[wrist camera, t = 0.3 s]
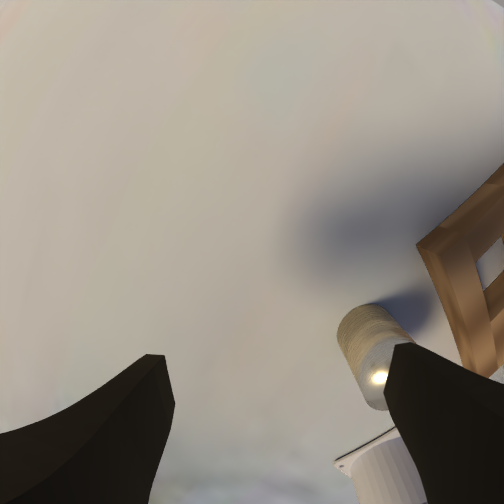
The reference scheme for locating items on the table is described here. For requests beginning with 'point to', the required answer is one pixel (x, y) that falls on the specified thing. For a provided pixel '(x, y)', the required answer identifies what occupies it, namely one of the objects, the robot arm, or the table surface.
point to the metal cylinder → (370, 349)
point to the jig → (471, 275)
